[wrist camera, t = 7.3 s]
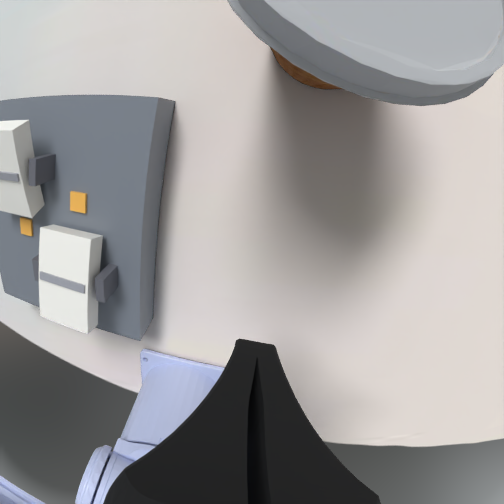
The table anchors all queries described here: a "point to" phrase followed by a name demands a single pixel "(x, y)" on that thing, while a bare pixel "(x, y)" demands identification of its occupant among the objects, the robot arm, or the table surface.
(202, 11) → the table surface
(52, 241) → the rocker
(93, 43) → the table surface
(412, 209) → the table surface
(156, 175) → the console
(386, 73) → the disposable coffee cup
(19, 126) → the rocker
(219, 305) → the table surface
